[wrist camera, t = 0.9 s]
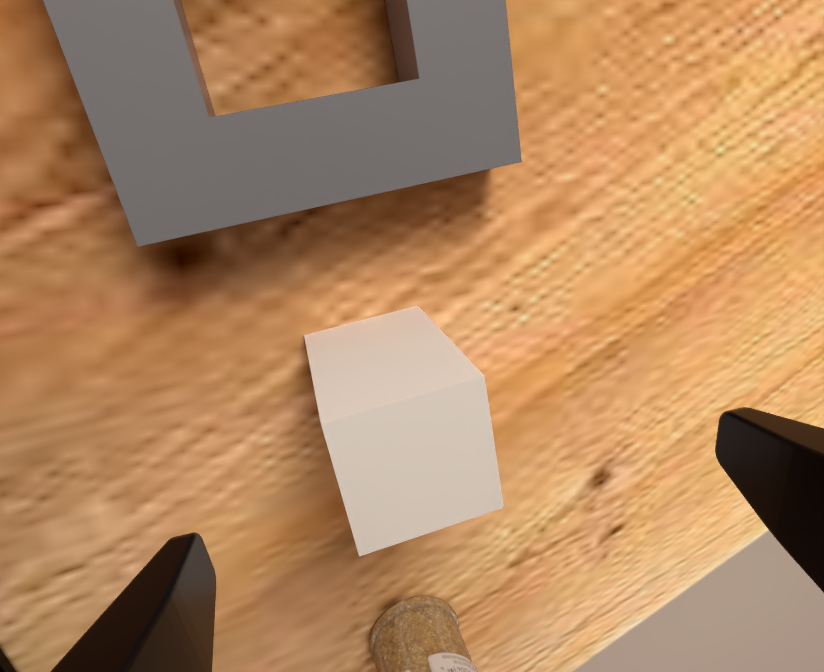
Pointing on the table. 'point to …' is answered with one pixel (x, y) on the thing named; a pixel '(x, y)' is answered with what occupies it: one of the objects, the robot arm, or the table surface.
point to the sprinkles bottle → (419, 638)
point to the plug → (403, 427)
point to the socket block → (284, 116)
